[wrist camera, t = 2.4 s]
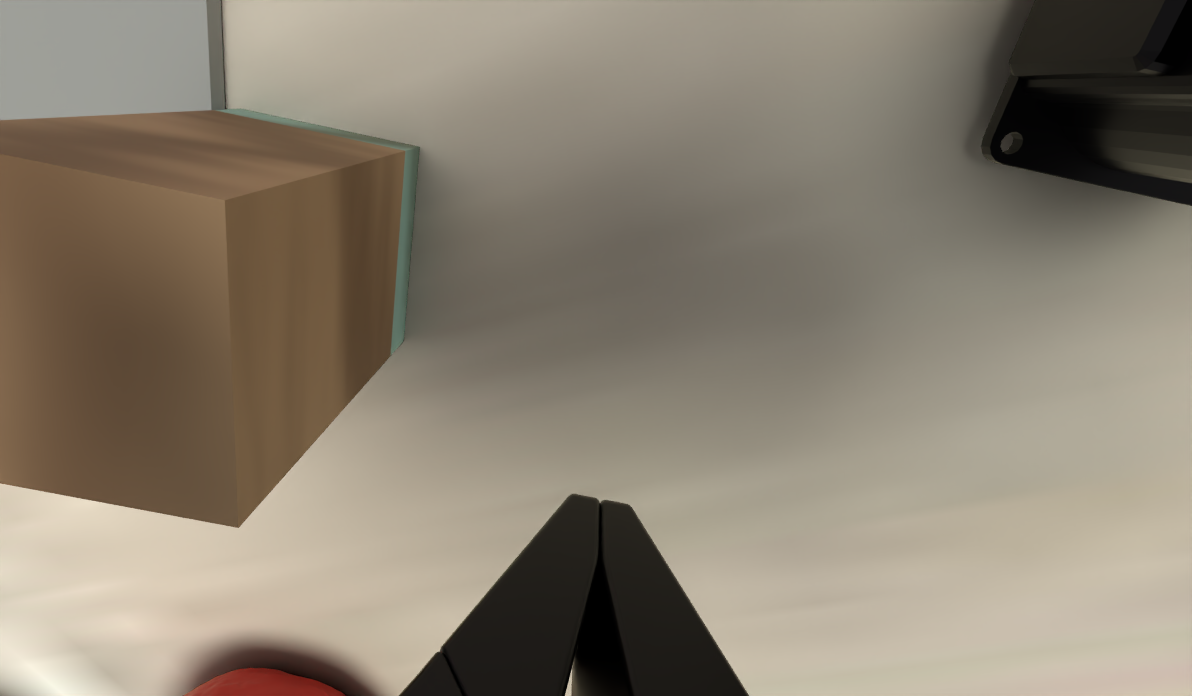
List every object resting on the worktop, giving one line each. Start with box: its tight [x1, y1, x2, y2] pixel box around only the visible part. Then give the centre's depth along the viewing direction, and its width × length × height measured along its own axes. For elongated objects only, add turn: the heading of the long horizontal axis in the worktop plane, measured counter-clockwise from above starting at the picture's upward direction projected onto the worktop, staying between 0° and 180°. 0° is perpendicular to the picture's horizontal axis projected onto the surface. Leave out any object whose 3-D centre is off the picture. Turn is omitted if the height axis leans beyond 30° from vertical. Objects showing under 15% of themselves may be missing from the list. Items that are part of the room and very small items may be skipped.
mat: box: [0, 0, 225, 120], centre depth 17 cm, size 10×14×1 cm
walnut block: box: [0, 109, 420, 528], centre depth 14 cm, size 5×6×9 cm
